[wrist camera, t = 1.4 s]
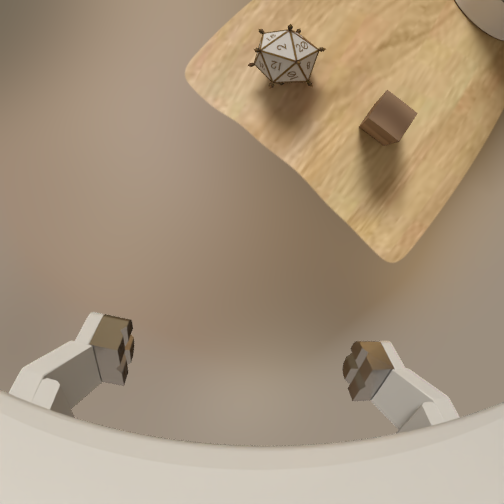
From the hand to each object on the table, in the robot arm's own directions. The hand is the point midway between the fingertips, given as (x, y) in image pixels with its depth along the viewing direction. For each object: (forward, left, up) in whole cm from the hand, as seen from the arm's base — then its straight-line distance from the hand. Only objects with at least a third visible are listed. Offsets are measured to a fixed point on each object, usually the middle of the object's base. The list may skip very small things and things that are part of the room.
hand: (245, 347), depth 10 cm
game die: (-16, -12, -31) cm, 37 cm away
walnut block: (-16, +2, -31) cm, 35 cm away
